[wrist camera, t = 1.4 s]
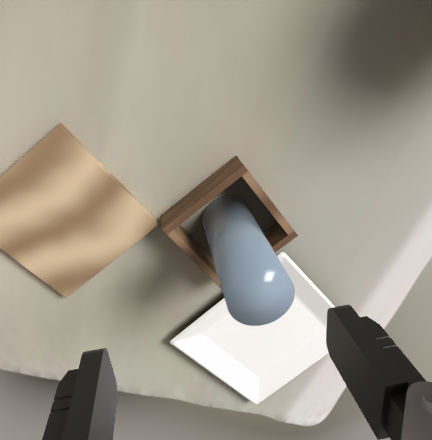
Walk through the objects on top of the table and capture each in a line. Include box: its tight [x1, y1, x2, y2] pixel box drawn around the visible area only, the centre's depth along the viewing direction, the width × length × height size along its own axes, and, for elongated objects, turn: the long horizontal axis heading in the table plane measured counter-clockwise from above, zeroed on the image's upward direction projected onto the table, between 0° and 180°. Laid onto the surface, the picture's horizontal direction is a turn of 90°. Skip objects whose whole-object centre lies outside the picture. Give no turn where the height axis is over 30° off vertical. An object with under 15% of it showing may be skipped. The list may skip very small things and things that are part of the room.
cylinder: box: [202, 196, 295, 326], centre depth 36 cm, size 6×6×15 cm
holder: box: [161, 156, 298, 289], centre depth 41 cm, size 11×11×4 cm
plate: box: [170, 252, 335, 404], centre depth 51 cm, size 19×19×2 cm
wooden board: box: [0, 123, 158, 298], centre depth 39 cm, size 14×14×1 cm
